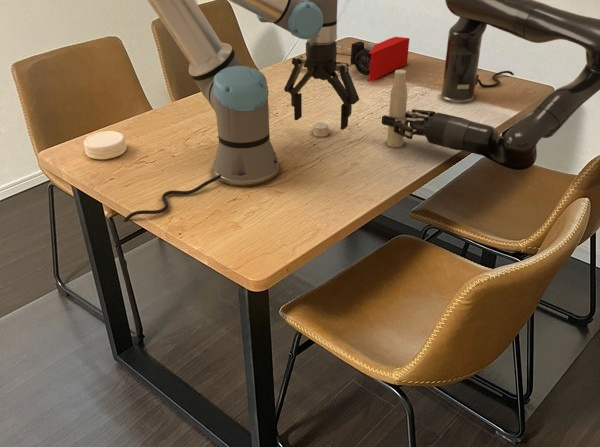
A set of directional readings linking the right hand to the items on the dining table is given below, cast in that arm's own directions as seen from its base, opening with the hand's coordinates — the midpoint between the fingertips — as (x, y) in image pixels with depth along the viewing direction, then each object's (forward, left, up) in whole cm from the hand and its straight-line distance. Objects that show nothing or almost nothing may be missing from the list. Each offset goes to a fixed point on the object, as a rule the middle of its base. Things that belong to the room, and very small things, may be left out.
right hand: (387, 116), depth 155 cm
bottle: (0, +3, -7) cm, 7 cm away
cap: (+5, -16, -5) cm, 18 cm away
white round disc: (+45, -55, -7) cm, 71 cm away
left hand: (+6, -16, -4) cm, 18 cm away
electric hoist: (-45, -39, -7) cm, 60 cm away
